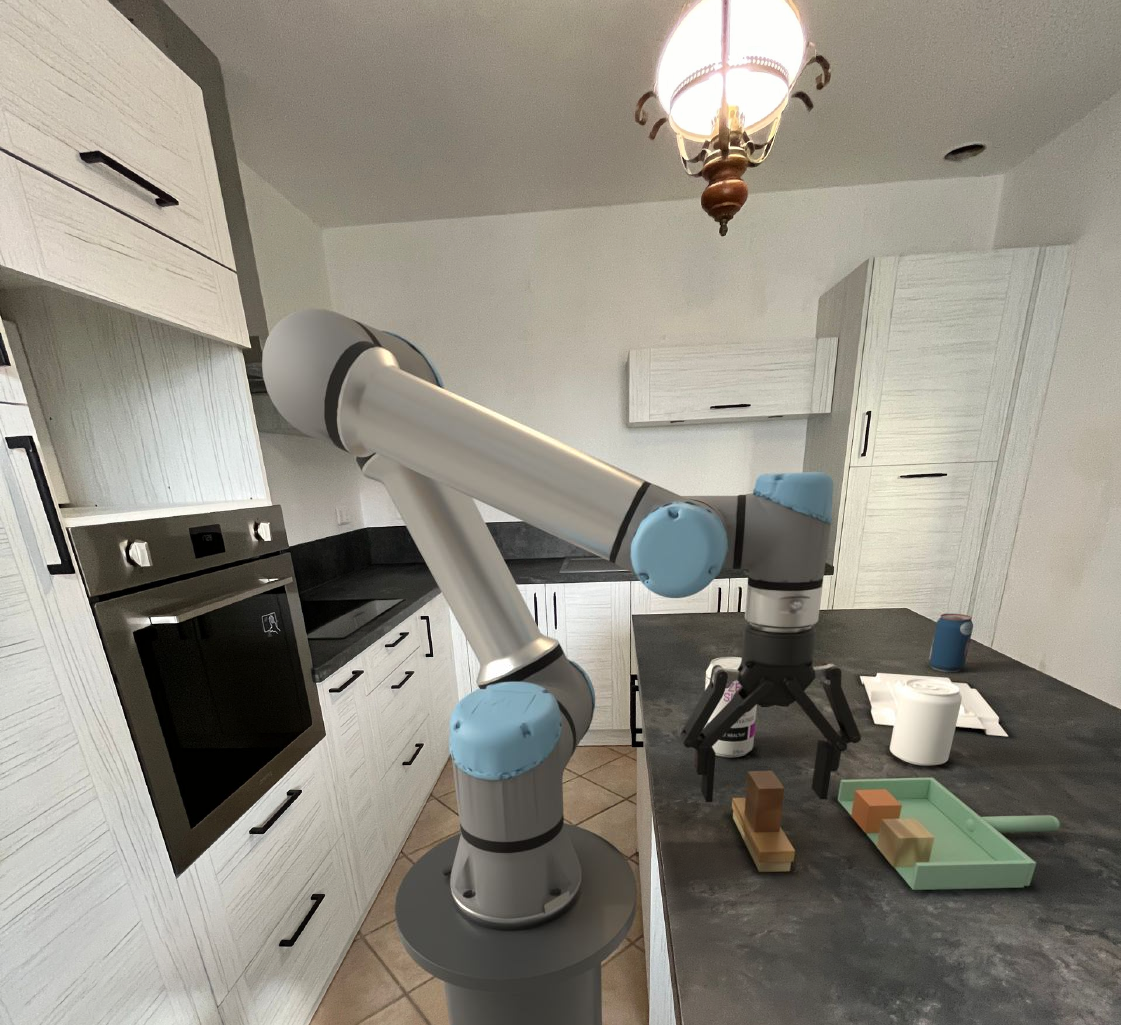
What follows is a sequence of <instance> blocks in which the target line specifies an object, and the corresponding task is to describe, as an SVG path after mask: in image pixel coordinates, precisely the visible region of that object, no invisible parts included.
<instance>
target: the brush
mask: <svg viewBox="0 0 1121 1025" xmlns="http://www.w3.org/2000/svg"><path fill="white" fill-rule="evenodd" d="M745 788H746V789H745V797H732V800H731V809H732V819H733V821H734V823H735V825H736V827H737V830H738V832H739V833H740V835H741V838H742V839H743V842H744V844H745V846H746V848H747V851H748V852H749V854H750V856H751V858H752V860H753V863H754V864H755V867H756V868H757V871H758V872H759V873H771V872H774V873H775V872H790V871H791V865H792V862H794V861H795V855H796V850H795V848H794V847H793V845H792V843H791V842H790V840H789V839H788V836H787V835H786V834H785V832H784V830H783V829H782V827H781V822H782V811H783V805H784V804H783V803H784V797H785V796H784V795H785V787H784V785H783V784H782V782H781V781H780V780H779V779H778V777H777V776H776V773H774V771H773V770H748V771H747V777H746V787H745Z"/></svg>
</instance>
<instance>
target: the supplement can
mask: <svg viewBox="0 0 1121 1025" xmlns="http://www.w3.org/2000/svg"><path fill="white" fill-rule="evenodd" d="M741 660H742V657H738V656H722V657H717V658H714V659H712V660H711V661H710V664H709V666H708V667H707V669H706V671H705V683H704V684H705V685H704V691H705V690H706V688H707V687H708V685H709V683H710V678H711V672H712V668H713V667H714V666H715V665H720V666H721V667H722V668H724V669H736V670H737V669H738V668H739V666H740V664H741ZM740 688H741V685H740V683H739V682H738V680H736V681H734V682H733V683H732V684H731V686H730V687H729V688H726V689H725V692H724V695H723V697H722V698H721V700H720V702H719V703H718V705H717V707H716V709H715V710H714V712H713V714H712V715H711V717H710V719H709V720H708V722H707V724H706V725H705V727H706V726H707V725H708V723H709V722H710V721H711V720H712V719H713V718H714V717H715V716H716V715H717V714H718V713H719V712H720V711H721V710H722V709H723V708H724V707H725V706H726V705H727V704H728V703H729V702H730V701H731V700H732V698H733V695H734V694H735V693H736V692H737V691H738V690H739V689H740ZM757 707H758V705H757V704H756V705H755V706H754V707H753V708H752V709H751V710H750V711H749V712H746V713H745V714H744V715H743V716H742V717H741V718H740V719H739V720H738V721H737V722H736V723H735V724H734V725H733V726H732V727H731V728H730V729H729V730H728V731H727V732H726V733H725V734H724V735H723V736H722V737H721V738H720V739H719V740H718V741H717V742H716V743H715V744H714V745H713V746H712V747H713V749H714V751H715V753H716V755H715V756H718V757H723V758H739V757H743V756H746V755H747V754H748V753H749V752H751V751H752V750H753V748H754V740H755V732H756V731H755V730H756V718H757ZM705 727H704V728H705Z"/></svg>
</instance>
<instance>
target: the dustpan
mask: <svg viewBox="0 0 1121 1025" xmlns="http://www.w3.org/2000/svg"><path fill="white" fill-rule="evenodd" d="M879 789H886V790H887V791H888V792H889V793H890V794H891V795H892V796H893V797H894V798H895V799H896V800H897V801H898V802H899V803H900V804H901V805H902V808H901V813H900V818H899V819H909V818H915V819H917V820H918V821H919V822H920V823H921V824H922V825H923V826H924V827H925V828H926V829H927V830H928V831H929V832H930V833H931V834H932V835H933V836H934V842H933V846H932V851H931V855H930V860H929V862H922V863H915V867H893V868H894V870H896V871H897V873H898V874H899V875H900V876H901V877H902V879H903V880H904V881H905V882H906V883H907V885H908V886H909V887H910V888H911V890H912V891H923V890H924V891H925V890H927V891H928V890H966V889H967V890H972V889H1010V888H1011V889H1012V888H1013V889H1015V888H1025V887H1029V886H1031V882H1032V879H1033V875H1034V872H1035V869H1036V866H1037V862H1036V861H1035V860H1034V859H1033V858H1031V857H1030V856H1028V855H1027V854H1026V853H1025V852H1023V851H1022V850H1021V848H1019V847H1018V846H1017V845H1015V844H1014V843H1013V842H1012V841H1011V840H1010V839H1008V838H1006V837H1005V836H1004V835H1003V834H1012V833H1013V834H1015V833H1017V834H1018V833H1052V832H1053V833H1054V832H1056V831H1058V830H1059V829H1060V827H1061V822H1060V820H1059V819H1058V818H1057V817H1055V816H1053V815H1051V814H1049V815H1048V814H1043V815H1042V814H1040V815H1005V816H1004V815H1000V816H980V815H979V814H978V813H976V812H975V811H974V810H973V809H972V808H970V807H969V806H968V805H967V804H966V803H964V802H963V801H962V800H961V799H959V798H958V797H957V796H955V794H954V793H952V792H951V791H950V790H949V789H948V788H946V787H945V786H944V785H942V784H941V783H940V782H939V781H938V780H936V779H935V778H934V777H902V778H901V777H899V778H898V777H897V778H896V777H895V778H862V779H859V778H858V779H857V778H856V779H840V782H839V790H838V796H837V801H838V803H839V804H840V805H841V806H842V807H843V808H844V809H845V811H846V812H847V813H848V814H849V816H851V813H852V807H853V801H854V795H855V790H879ZM865 834H866V836H867V837H868V838H869V839H870V841H871V842H872V843H873V844H874V845H875V846H876V847H877V842H878V837H879V833H865Z"/></svg>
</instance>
